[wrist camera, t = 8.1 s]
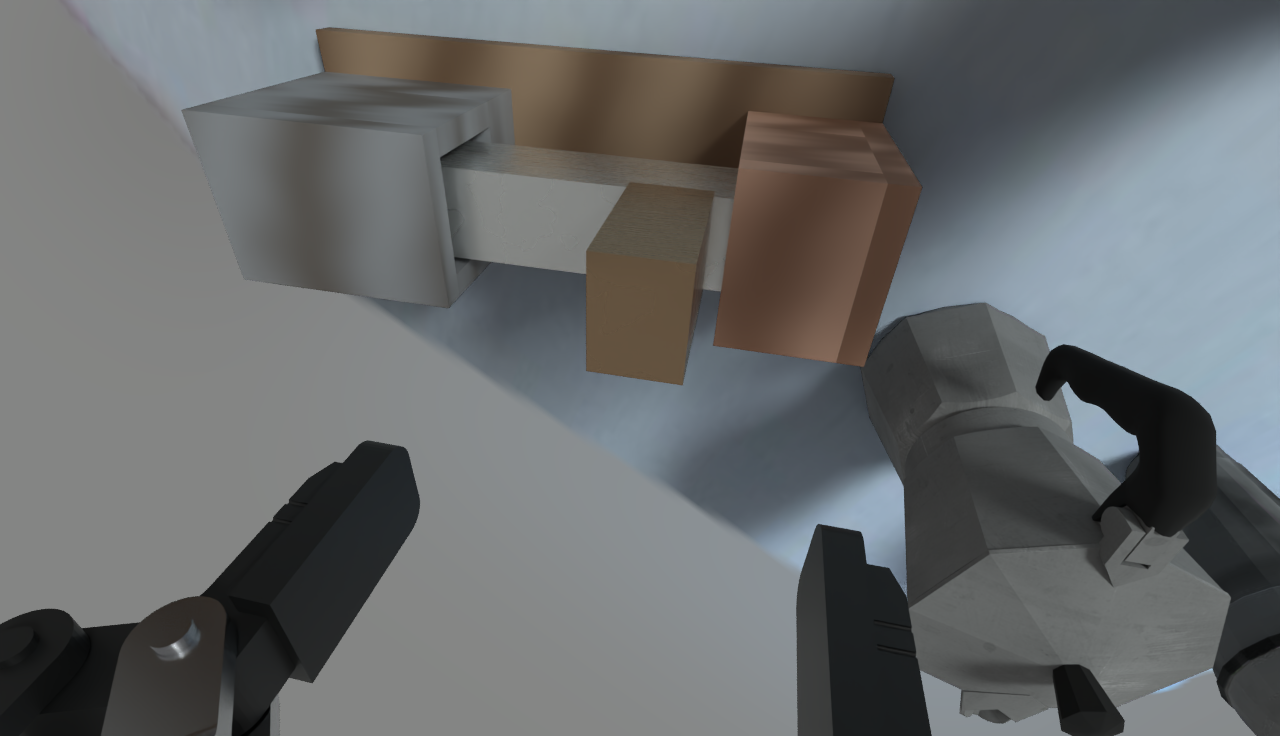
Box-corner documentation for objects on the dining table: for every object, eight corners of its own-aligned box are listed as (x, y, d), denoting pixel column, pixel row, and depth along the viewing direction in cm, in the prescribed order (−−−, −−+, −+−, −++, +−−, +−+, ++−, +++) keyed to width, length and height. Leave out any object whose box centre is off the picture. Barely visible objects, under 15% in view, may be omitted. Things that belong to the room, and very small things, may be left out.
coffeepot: (992, 479, 35) (1147, 853, 21) (829, 452, 36) (865, 789, 22) (1133, 230, 26) (1582, 579, 12) (910, 204, 27) (1064, 493, 13)
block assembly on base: (890, 74, 24) (941, 128, 17) (833, 291, 30) (852, 403, 23) (328, 27, 28) (161, 55, 20) (374, 233, 33) (257, 315, 26)
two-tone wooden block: (844, 174, 23) (879, 287, 15) (821, 269, 25) (841, 409, 18) (435, 132, 25) (283, 212, 17) (448, 223, 27) (319, 330, 20)
